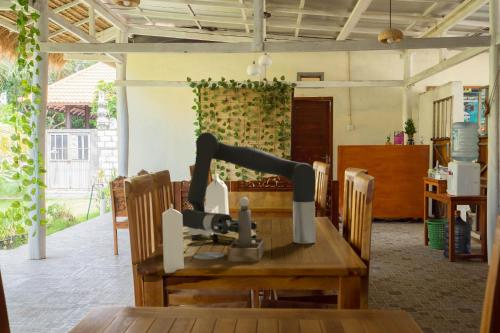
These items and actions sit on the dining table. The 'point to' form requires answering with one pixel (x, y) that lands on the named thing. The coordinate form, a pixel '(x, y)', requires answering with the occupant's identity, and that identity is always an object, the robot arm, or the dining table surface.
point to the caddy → (246, 251)
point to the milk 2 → (217, 195)
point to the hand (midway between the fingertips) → (247, 227)
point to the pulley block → (221, 237)
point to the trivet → (209, 255)
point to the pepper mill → (244, 224)
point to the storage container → (198, 231)
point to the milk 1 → (172, 240)
